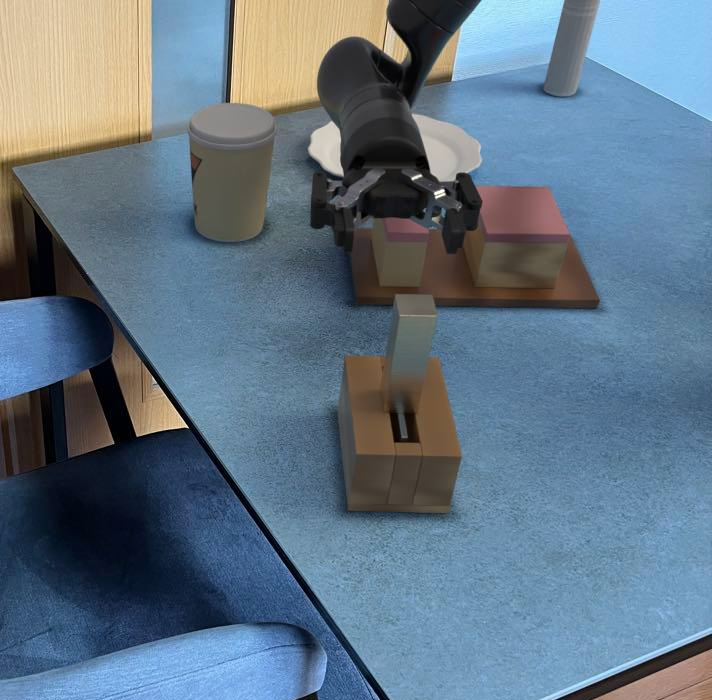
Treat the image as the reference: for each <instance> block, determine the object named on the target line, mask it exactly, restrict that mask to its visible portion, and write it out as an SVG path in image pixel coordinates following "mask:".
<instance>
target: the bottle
mask: <svg viewBox="0 0 712 700" xmlns="http://www.w3.org/2000/svg"><path fill="white" fill-rule="evenodd" d="M600 2H601V0H564V1H563V4H562V9H561V13H560V17H559V21H558V26H557V30H556V33H555V37H554V42H553V46H552V51H551V55H550V59H549V63H548V67H547V72H546V74H545V80H544V83H543V91H544V92H545V93H546V94H548V95H551V96H555V97H561V98H562V97H563V98H564V97H565V98H566V97H571V96H573V95H574V96H575V94H576V93H577V90H578V88H579V87H578V86H579V83H580V79H581V75H582V71H583V68H584V65H585V60H586V56H587V52H588V48H589V44H590V41H591V37H592V34H593V29H594V26H595V21H596V19H597V18H596V17H597V15H598V10H599V6H600Z"/></svg>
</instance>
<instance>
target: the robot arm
mask: <svg viewBox="0 0 712 700" xmlns="http://www.w3.org/2000/svg"><path fill="white" fill-rule="evenodd" d="M482 1H483V0H390V1H389V2H388V4H387V6H386V10H385V15H386V19H387V22H388V24H389V26H390V27H391V29H392V30H393V32H394V33H395V34H396V35H397V36H398V37H399V39H400V40H401V41H402V42H403V44H404V46H405V47H406V48H407V51H406V55H405V56H404V58H403V60H402V61H401V62H398V61H396V59H394V58H393V57H391V56H390V55H389V54H388V53H386V52H385V51H383V50H382V49H381V48H380V47H378V46H377V45H375V44H374V43H373V42H371V41H370V40H368V39H366V38H365V37H361V36H355V35H354V36H347V37H345V38H342V39H340V40H339V41H336V43H334V44H333V45H332V46H331V47H330V48H329V49H328V50H327V52H326V54H324V56H323V58H322V60H321V62H320V64H319V67H318V71H317V76H316V92H317V96H318V99H319V102H320V103H321V106H322V107H323V108H324V110H325V112H326V114H327V115H328V116H329V119H331V120H330V121H333V122H334V124H335V125H336V126H337V127H338V129H339V131H340V138H341V143H340V154H341V155H340V163H341V167H342V169H343V174H344V178H343V177H342V180H333V179H332V178H328V173H327V172H326V171H324V170H316V171H314V172H313V173H312V180H311V181H312V182H311V192H310V217H309V227H310V228H311V229H314V230H322V229H323V228H325V227H326V226H327V227H330V228H331V231H332V235H333V242H334V245H335V246H336V247H338V248H342V253H344V254H345V253H347V254H349V253H352V248H353V240H354V228H360V226H362V225H363V224H365V223H366V222H368V221H369V220H370V219H374V218H391V217H393V218H401V219H410V220H412V221H414V222H416V223H417V224H419V225H421V226H423V227H425V228H428V229H431V228H432V227H433V228H434V229H439V230H440V231H442V233H441V234H442V238H443V241H444V245H445V249H446V252H447V254H456V253H457V249H458V248H462V247H463V245H464V240H465V235H466V230H468V231H474V230H476V229H477V226H478V219H479V214H480V209H481V207H482V203H483V201H482V199H481V197H480V195H479V193H478V191H477V189H476V187H475V186H476V184H475V182H474V180H473V178H472V176H471V174H469V173H464V172H460V173H457V174H456V179H455V180H454V181H443V182H439V180H438V179H437V177H435V176H434V175H432V174H431V172H430V166H429V162H428V158H427V155H426V151H425V148H424V144H423V141H422V138H421V134H420V131H419V128H418V126H417V123H416V122H415V120H414V118H413V117H412V114H413V113H412V111H413V109H414V107H415V105H416V102H417V101H418V99H419V96H420V94H421V91H422V89H423V87H424V85H425V83H426V81H427V79H428V76H429V75H430V73H431V71H432V69H433V68H434V66H435V64H436V62H437V61H438V58H439V57H440V55H441V54H442V53H443V50H444V48H445V47H446V46H447V44H448V42H450V40H451V39H452V37H453V36H454V35H455V33H456V32H457V31H458V30H459V29H460V28H461V27H462V26H463V24H464V23H465V22H466V21H467V19H468V18H469V17H470V16H471V14H472V13H473V12H474V11H475V9H476V8H477V7H478V6H479V4H480V3H481V2H482ZM337 196H340V198H338V199H336V200H335V201H334V202H333V203H331V201H333V200H334V199H335V198H336V197H337ZM422 210H423V211H422ZM442 210H445V212H444V216H443V215H442Z"/></svg>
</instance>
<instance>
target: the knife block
mask: <svg viewBox="0 0 712 700" xmlns="http://www.w3.org/2000/svg"><path fill="white" fill-rule="evenodd" d="M440 359H441V358H440V357H439V356H430V357H429V362H428V367H427V372H426V377H425V382H424V388H423V393H422V398H421V403H420V408H419V413H404V418H405V423H406V429H407V435H408V440H407V443H394V440H393V434H392V428H391V421H390V415H389V413H384V412H383V407H382V401H381V394H380V386H381V380H382V374H383V368H384V361H385V355H344V359H343V365H342V374H341V380H340V389H339V395H338V396H339V397H338V404H337V418H338V428H339V437H340V438H339V439H340V447H341V448H340V449H341V457H342V466H343V467H342V468H343V476H344V485H345V495H346V504H347V505H346V506H347V511H348V512H376V513H377V512H381V513H382V512H383V513H415V514H417V513H421V514H449V513H450V508H451V504H452V499H453V495H454V492H455V487H456V482H457V480H458V475H459V471H460V466H461V463H462V459H463V454H462V450H461V445H460V440H459V437H458V432H457V429H456V423H455V419H454V415H453V411H452V407H451V403H450V397H449V393H448V389H447V385H446V381H445V377H444V372H443V368H442V364H441V360H440Z"/></svg>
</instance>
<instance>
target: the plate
mask: <svg viewBox="0 0 712 700" xmlns="http://www.w3.org/2000/svg"><path fill="white" fill-rule="evenodd" d="M412 117H413V118H414V120H415V122H416V123H417V126H418V128H419V131H420V134H421V138H422V141H423V144H424V148H425V151H426V155H427V158H428V162H429V166H430V172H431V174H432V175H434V176H435V177H437V179H438V180H439V182H443V181H454V180H455V179H456V174H457V173H460V172H464V173H468V174H469V173H470V172H473V171H474V170H476V169H478V168H480V166H481V164H482V162H483V158H482V155H481V153H480V152H481V148H482V145H481V144H480V142H479V141H478V140H477V139H475V138H474V137H472V136H471V135H469V134H468V133H466V132H465V131H464V130H463V129H462V128H461V127H460V126H457V125H455V124H453V123H451V122H446V121H442V120H438V119H434V118H432V117H429V116H426V115H422V114H416V113H412ZM309 136H310V137H309V138H310V144H309V145H308V146H307V153H308V155H309V157H310V158H312V159H313V160H315V161H316V162H317V163H319V165H320V167H321V168H322V169H323V171H325V172H326V173H329V174H331V175H332V176H335V177H339V178H342V179H343V178H344V174H343V169H342V167H341V163H340V155H341V154H340V143H341V138H340V131H339V129H338V127H337V126H336V125H335V124H334V122H333V121H332V120H330V121H329V122H328V123H326V124H325V125H323V126H322V127H319V128H317V129H315V130H313V132H312V133H311V134H310V135H309Z"/></svg>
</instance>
